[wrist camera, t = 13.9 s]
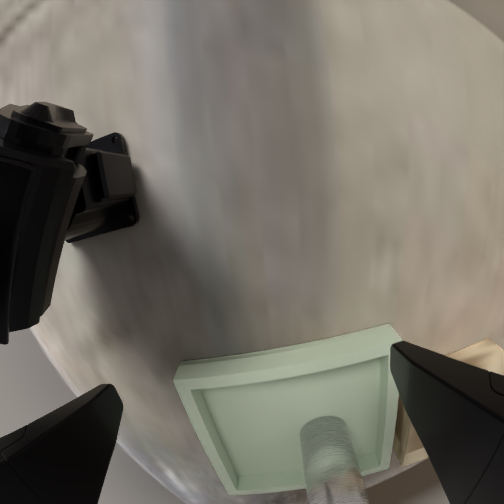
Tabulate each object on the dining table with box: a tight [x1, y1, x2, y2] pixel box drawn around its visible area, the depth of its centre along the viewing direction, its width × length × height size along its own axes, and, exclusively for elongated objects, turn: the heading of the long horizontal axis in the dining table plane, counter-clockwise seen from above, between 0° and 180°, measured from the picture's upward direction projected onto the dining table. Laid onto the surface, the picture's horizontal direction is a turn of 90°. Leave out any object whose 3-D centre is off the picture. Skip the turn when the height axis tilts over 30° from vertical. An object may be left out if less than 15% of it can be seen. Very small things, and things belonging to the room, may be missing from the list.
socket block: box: [393, 338, 504, 467], centre depth 21 cm, size 10×10×4 cm
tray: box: [173, 323, 402, 495], centre depth 22 cm, size 16×16×2 cm
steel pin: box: [300, 416, 370, 504], centre depth 16 cm, size 4×4×13 cm
